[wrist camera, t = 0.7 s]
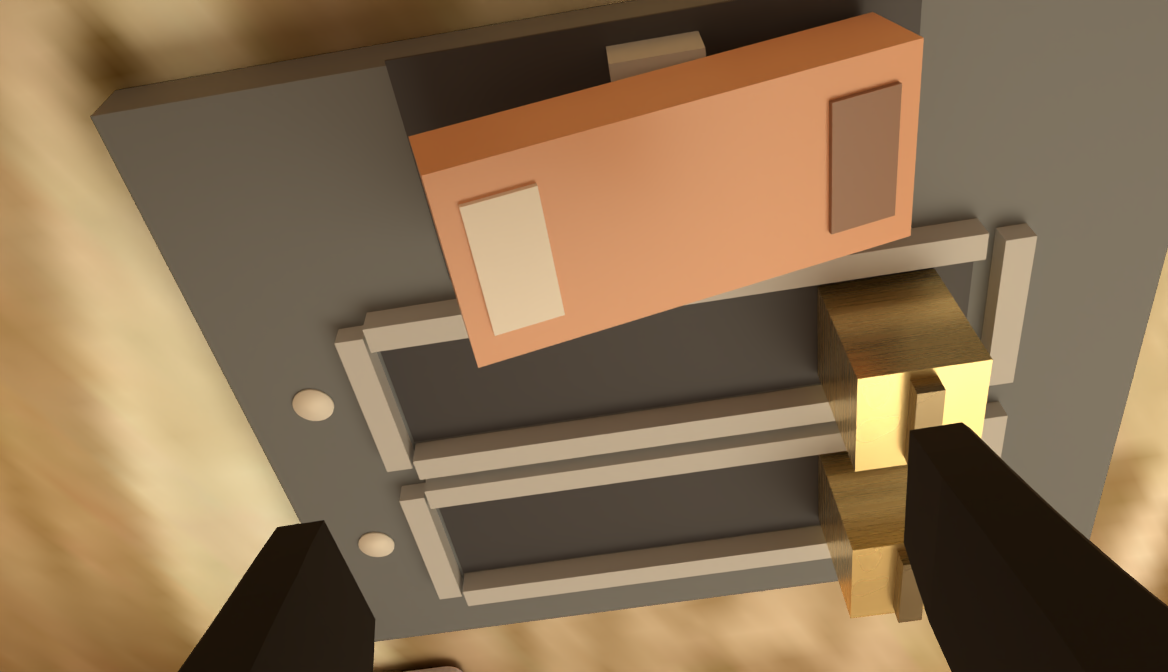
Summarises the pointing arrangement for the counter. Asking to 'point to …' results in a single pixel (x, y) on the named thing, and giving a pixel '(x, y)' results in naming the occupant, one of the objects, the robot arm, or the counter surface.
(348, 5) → the counter surface
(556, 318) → the rocker
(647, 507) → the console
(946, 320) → the slider middle
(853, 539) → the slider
